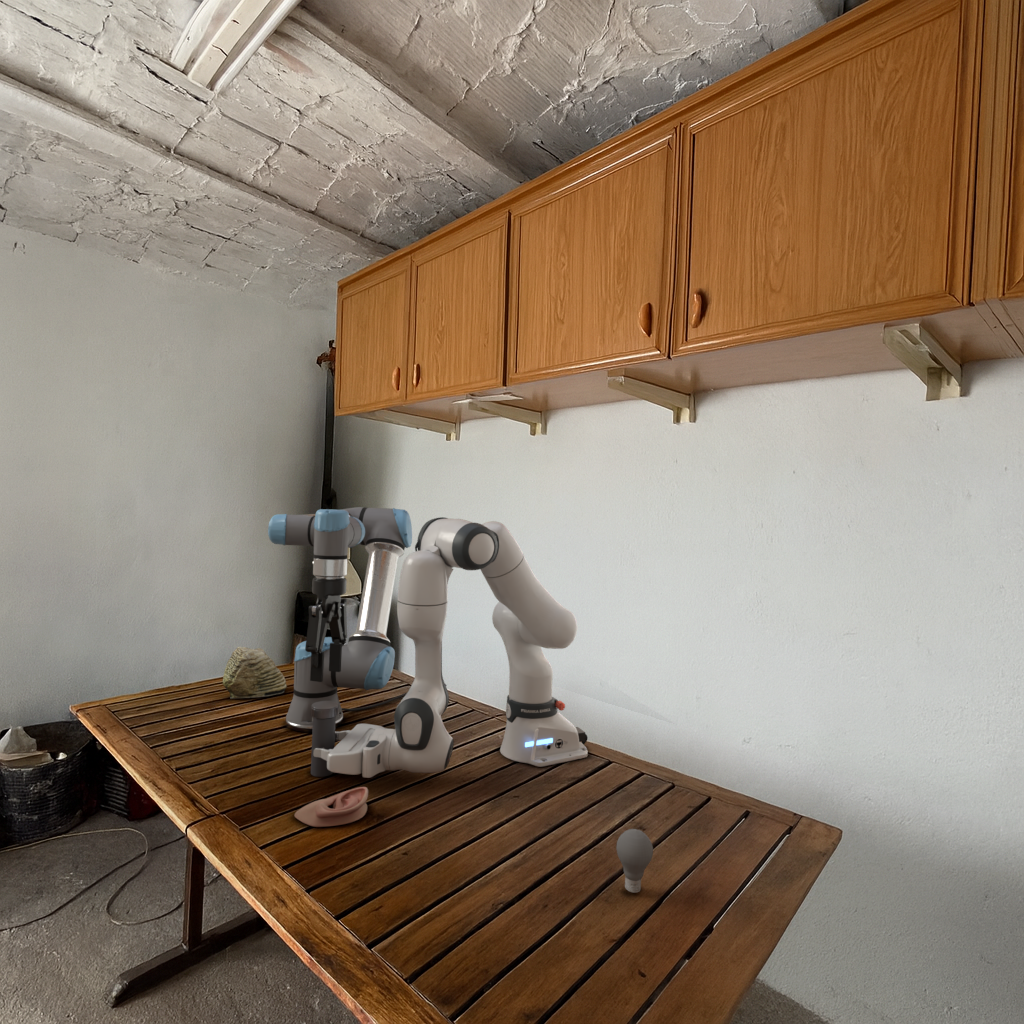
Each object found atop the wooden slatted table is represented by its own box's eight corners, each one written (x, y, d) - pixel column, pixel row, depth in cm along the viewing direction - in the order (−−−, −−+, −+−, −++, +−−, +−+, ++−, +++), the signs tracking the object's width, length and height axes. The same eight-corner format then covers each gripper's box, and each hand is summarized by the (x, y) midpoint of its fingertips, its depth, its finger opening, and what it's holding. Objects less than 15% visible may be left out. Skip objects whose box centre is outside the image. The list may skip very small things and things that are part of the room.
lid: (337, 709, 149) (337, 700, 149) (338, 718, 143) (338, 708, 143) (311, 710, 147) (311, 701, 147) (310, 719, 142) (311, 709, 142)
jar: (333, 766, 149) (335, 702, 148) (333, 776, 144) (336, 709, 144) (310, 768, 147) (313, 703, 147) (310, 777, 142) (313, 710, 142)
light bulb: (610, 879, 108) (613, 822, 108) (644, 879, 109) (647, 822, 109) (619, 902, 102) (622, 840, 102) (655, 901, 103) (658, 840, 103)
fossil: (218, 695, 195) (220, 647, 195) (278, 685, 208) (279, 640, 207) (228, 703, 189) (230, 653, 188) (289, 692, 201) (290, 645, 201)
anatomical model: (286, 802, 122) (316, 777, 134) (285, 822, 122) (315, 795, 134) (350, 811, 120) (375, 785, 131) (349, 832, 120) (374, 804, 131)
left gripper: (336, 571, 156) (332, 663, 156) (290, 580, 135) (286, 686, 136) (364, 573, 154) (360, 666, 154) (322, 583, 134) (318, 690, 134)
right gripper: (395, 719, 154) (340, 714, 156) (368, 752, 134) (305, 746, 135) (394, 745, 154) (339, 740, 156) (366, 781, 134) (303, 775, 135)
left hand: (325, 675), depth 145 cm, fingers open, 8 cm apart
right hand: (323, 743), depth 145 cm, fingers open, 8 cm apart
